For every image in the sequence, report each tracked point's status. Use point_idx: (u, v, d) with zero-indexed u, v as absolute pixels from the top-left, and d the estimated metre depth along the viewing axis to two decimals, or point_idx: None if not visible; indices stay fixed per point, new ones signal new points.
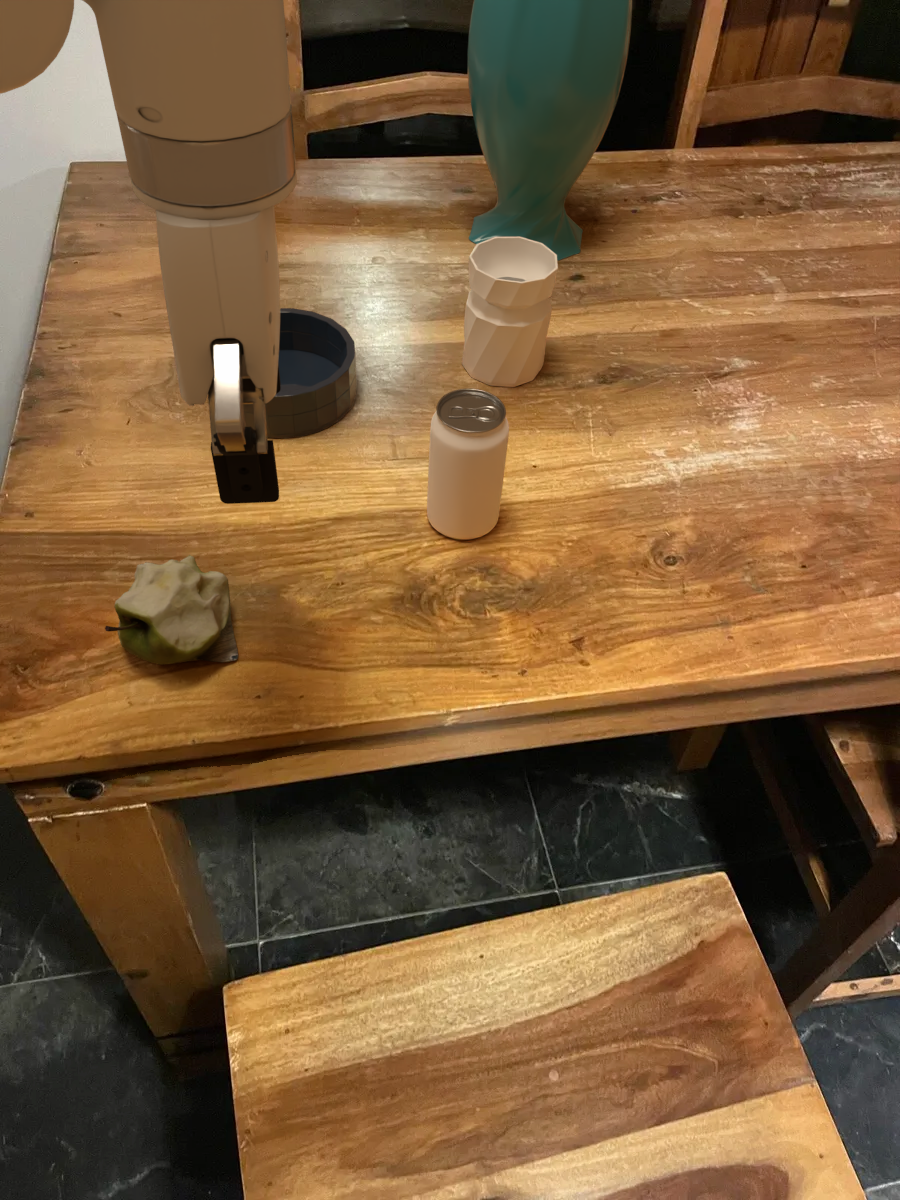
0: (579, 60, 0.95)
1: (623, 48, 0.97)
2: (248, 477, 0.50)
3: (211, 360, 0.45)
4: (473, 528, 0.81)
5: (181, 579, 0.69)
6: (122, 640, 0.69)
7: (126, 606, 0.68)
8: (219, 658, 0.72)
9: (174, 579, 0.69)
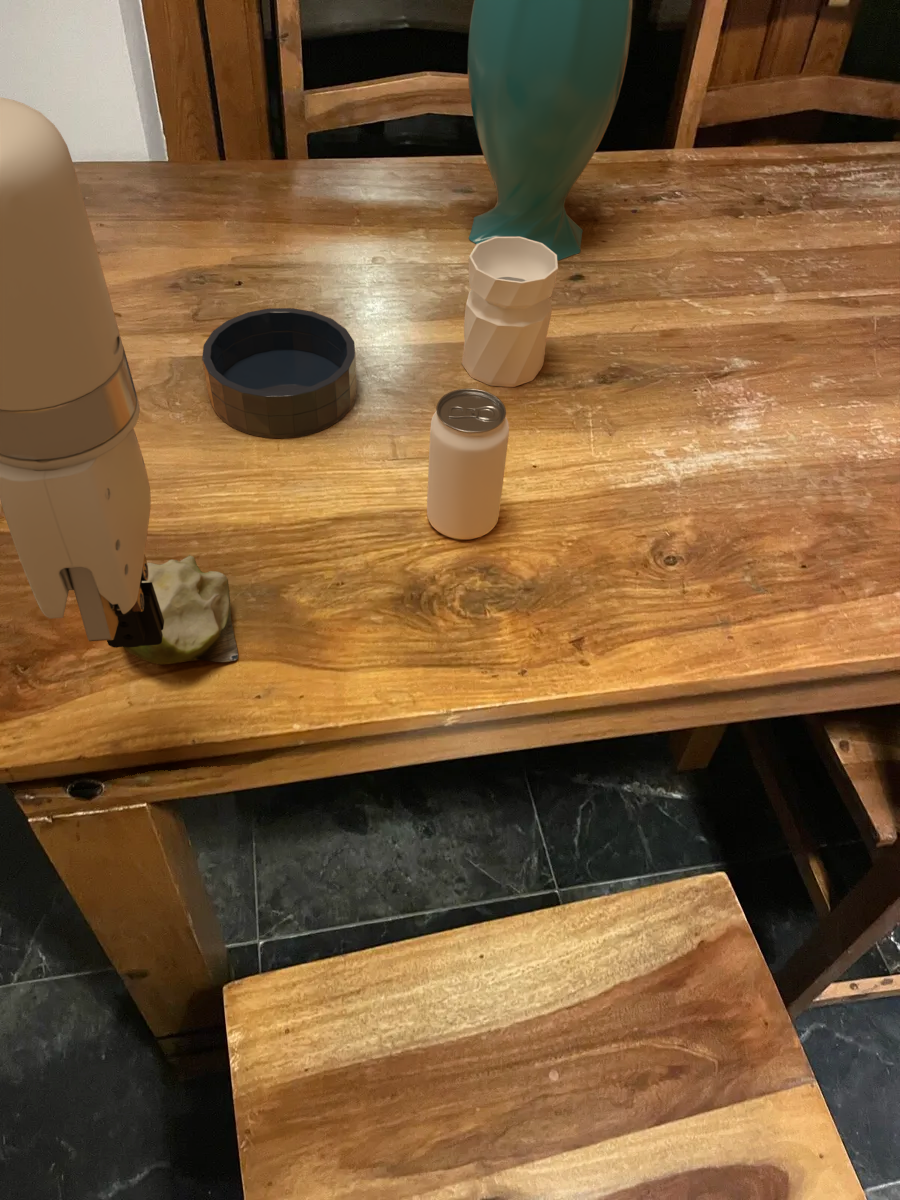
0: (579, 60, 0.95)
1: (623, 48, 0.97)
2: (129, 629, 0.55)
3: (63, 585, 0.46)
4: (473, 528, 0.81)
5: (181, 579, 0.69)
6: None
7: None
8: (219, 658, 0.72)
9: (174, 579, 0.69)
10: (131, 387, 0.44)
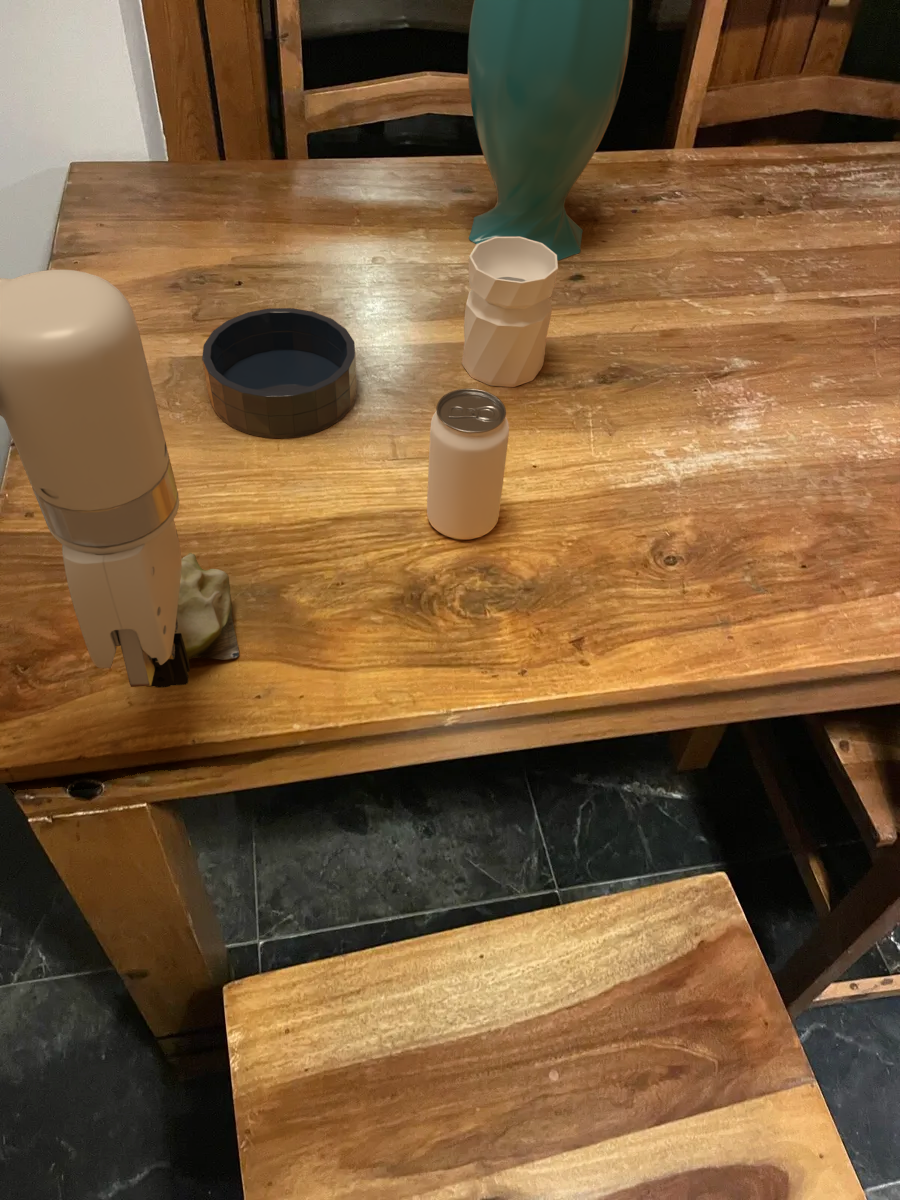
0: (579, 60, 0.95)
1: (623, 48, 0.97)
2: (161, 673, 0.65)
3: (112, 642, 0.56)
4: (473, 528, 0.81)
5: (182, 577, 0.70)
6: None
7: None
8: (221, 656, 0.72)
9: None
10: (173, 485, 0.54)
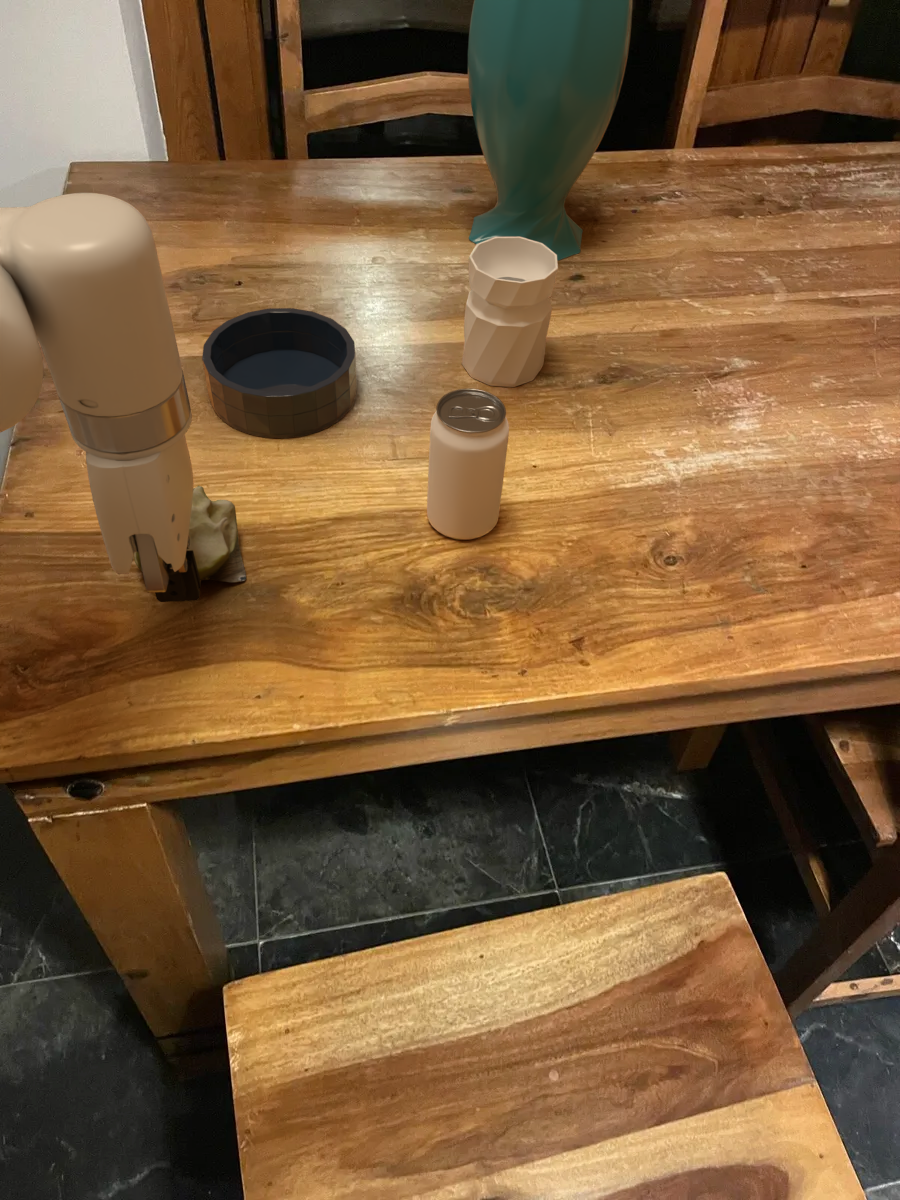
0: (579, 60, 0.95)
1: (623, 48, 0.97)
2: (174, 586, 0.70)
3: (131, 547, 0.61)
4: (473, 528, 0.81)
5: (192, 504, 0.75)
6: (139, 561, 0.74)
7: None
8: (229, 579, 0.77)
9: None
10: (187, 399, 0.59)
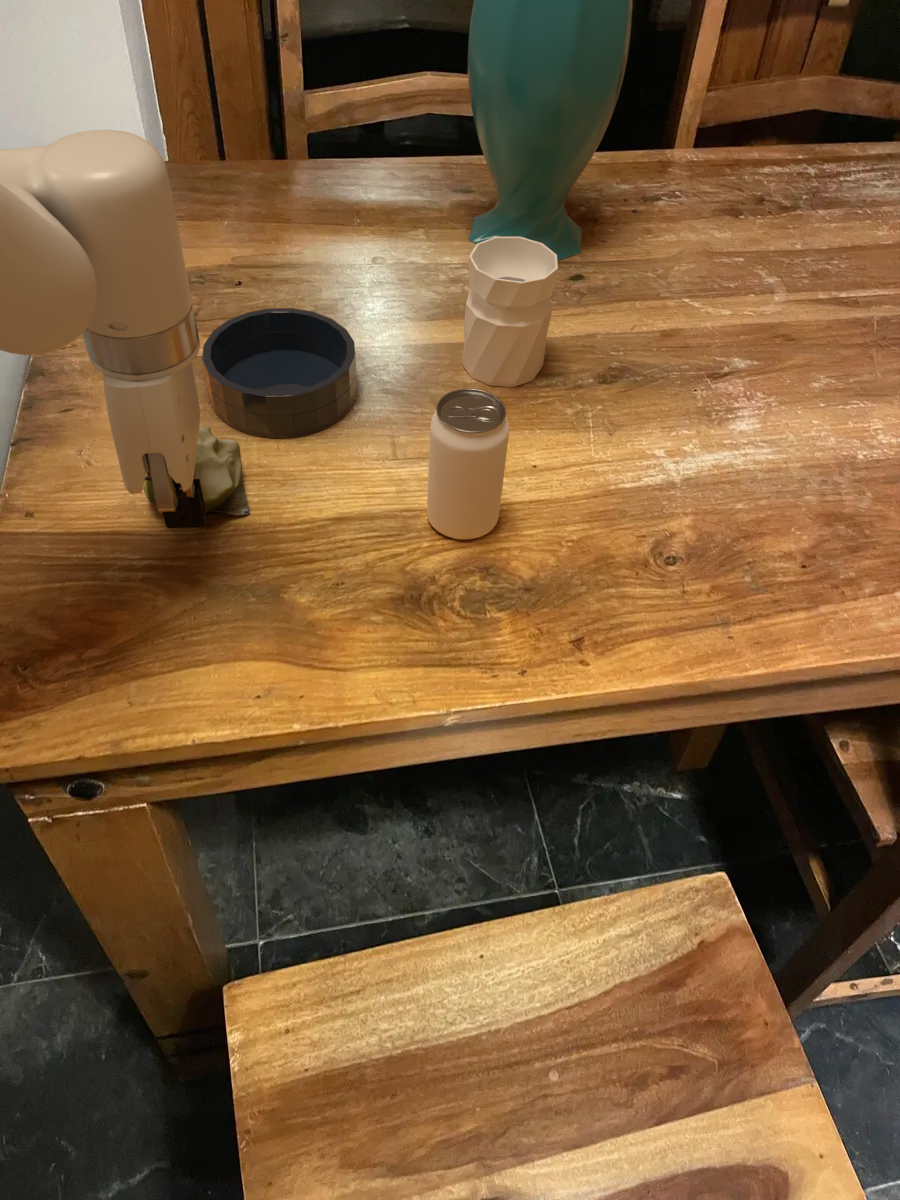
0: (579, 60, 0.95)
1: (623, 48, 0.97)
2: (182, 512, 0.75)
3: (143, 466, 0.66)
4: (473, 528, 0.81)
5: (199, 439, 0.80)
6: (149, 492, 0.80)
7: None
8: (233, 512, 0.82)
9: None
10: (195, 327, 0.64)
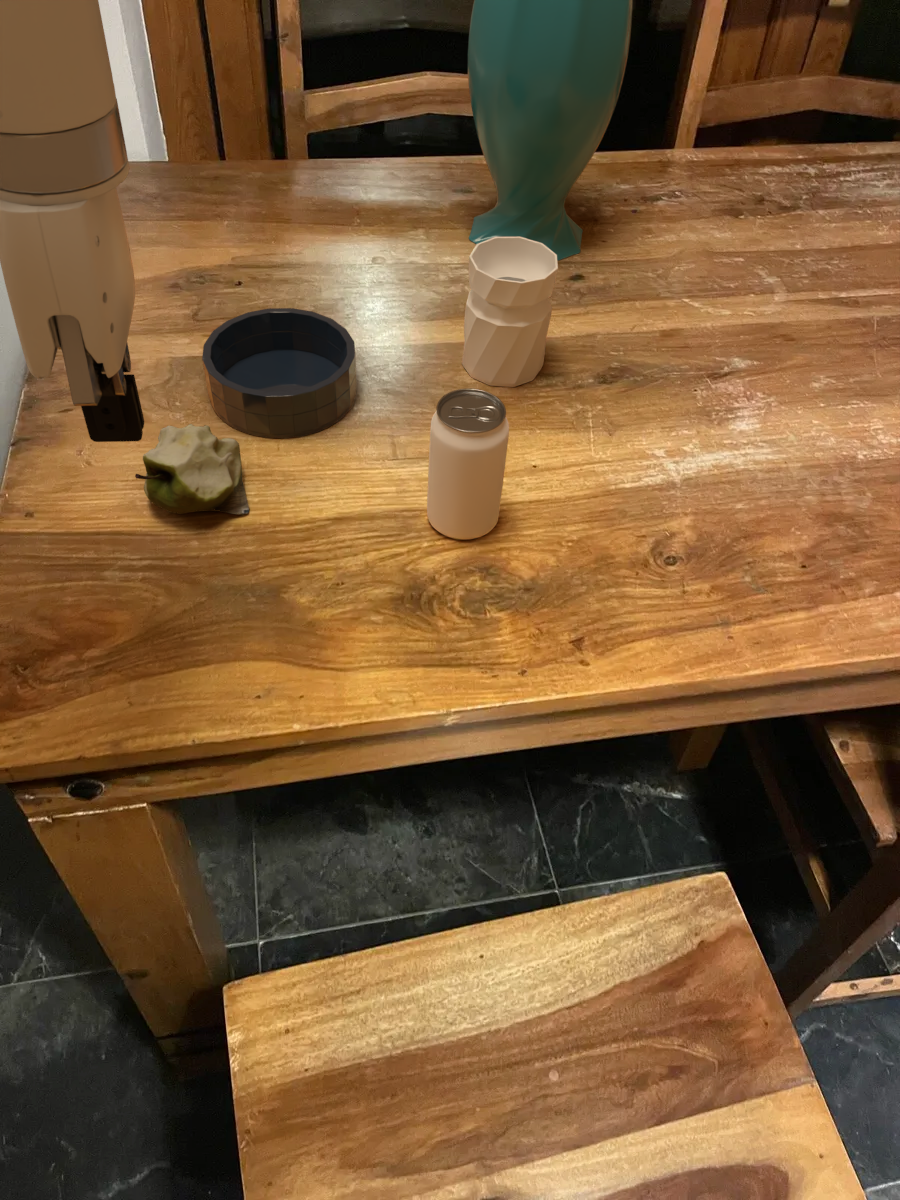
0: (579, 60, 0.95)
1: (623, 48, 0.97)
2: (110, 416, 0.57)
3: (51, 335, 0.49)
4: (473, 528, 0.81)
5: (199, 439, 0.80)
6: (149, 491, 0.80)
7: (153, 458, 0.78)
8: (233, 511, 0.82)
9: (193, 438, 0.80)
10: (122, 139, 0.47)
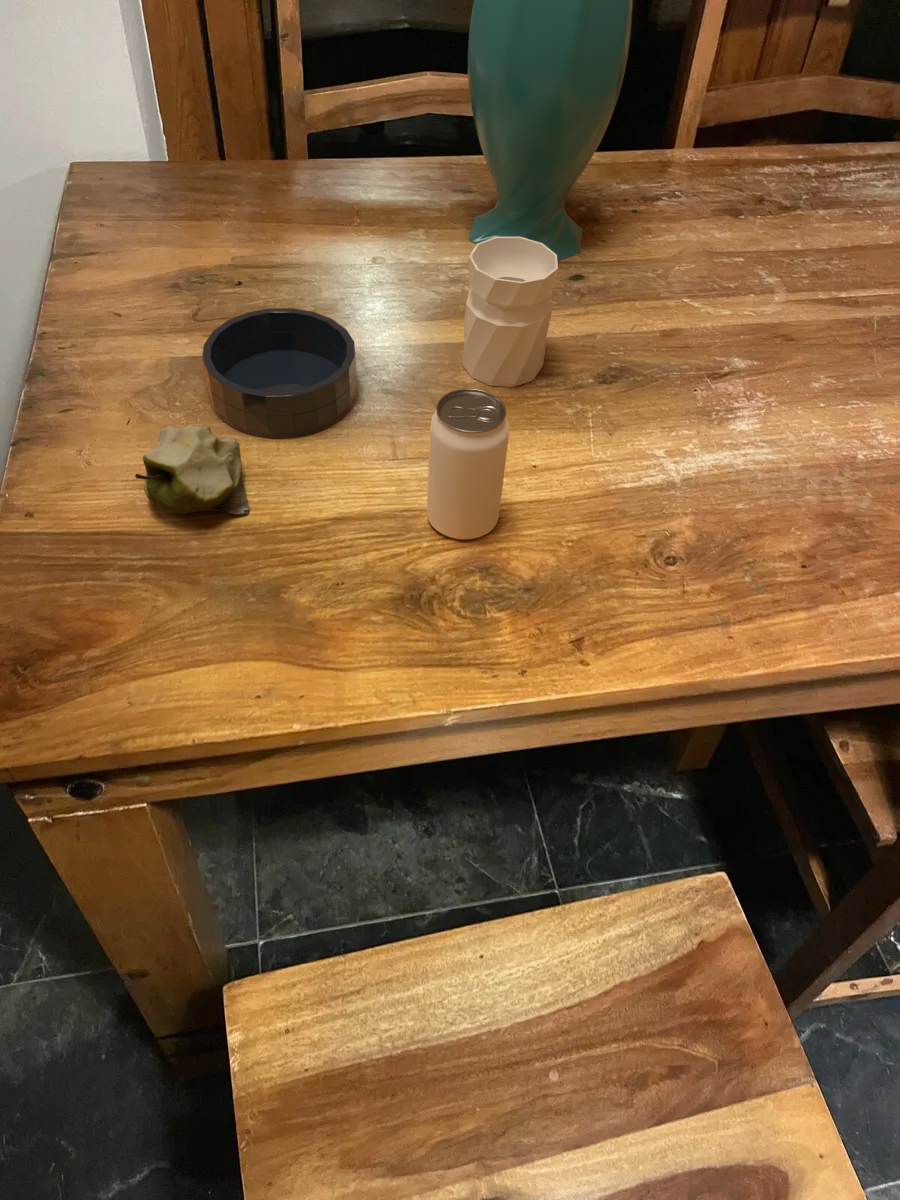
0: (579, 60, 0.95)
1: (623, 48, 0.97)
2: None
3: None
4: (473, 528, 0.81)
5: (199, 439, 0.80)
6: (149, 491, 0.80)
7: (153, 459, 0.78)
8: (233, 511, 0.82)
9: (193, 438, 0.80)
10: None
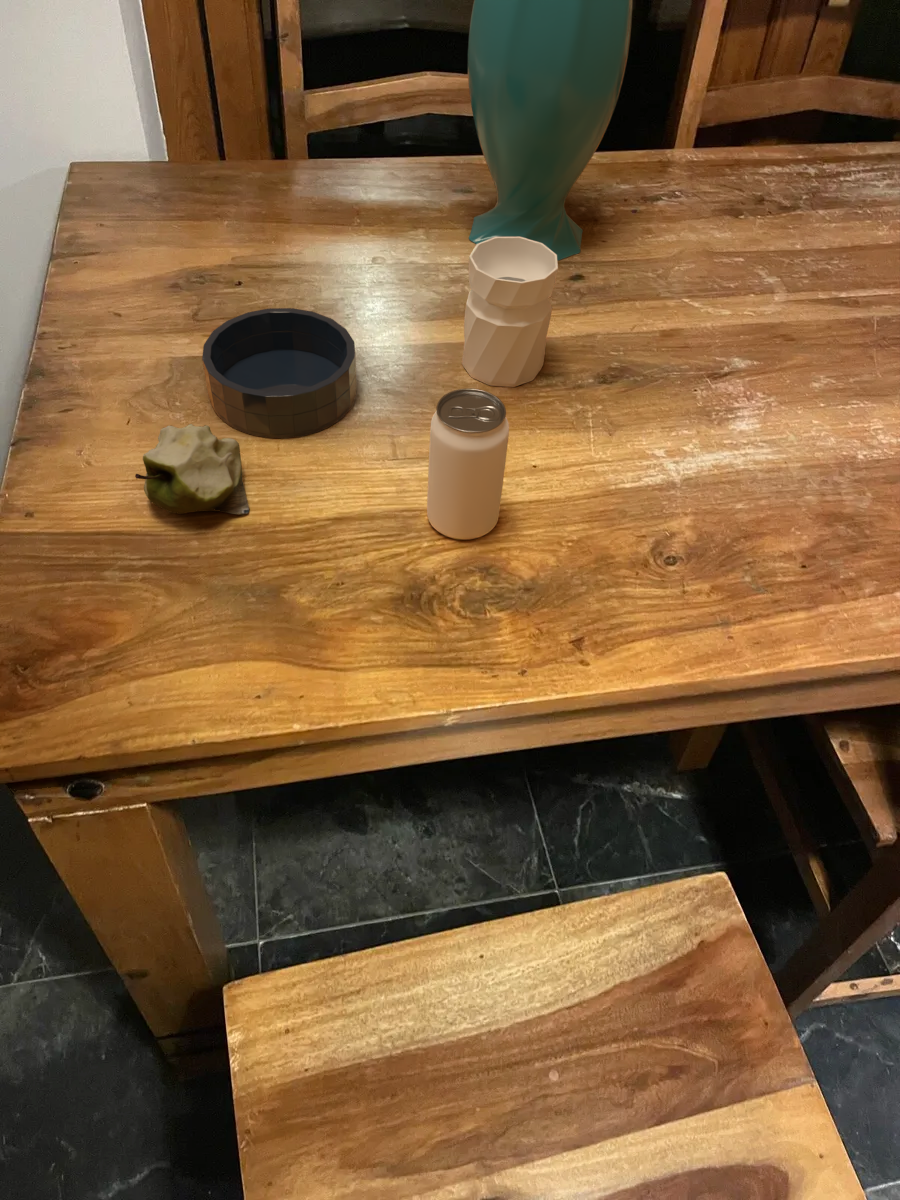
0: (579, 60, 0.95)
1: (623, 48, 0.97)
2: None
3: None
4: (473, 528, 0.81)
5: (199, 439, 0.80)
6: (149, 491, 0.80)
7: (153, 458, 0.78)
8: (233, 511, 0.82)
9: (193, 438, 0.80)
10: None
